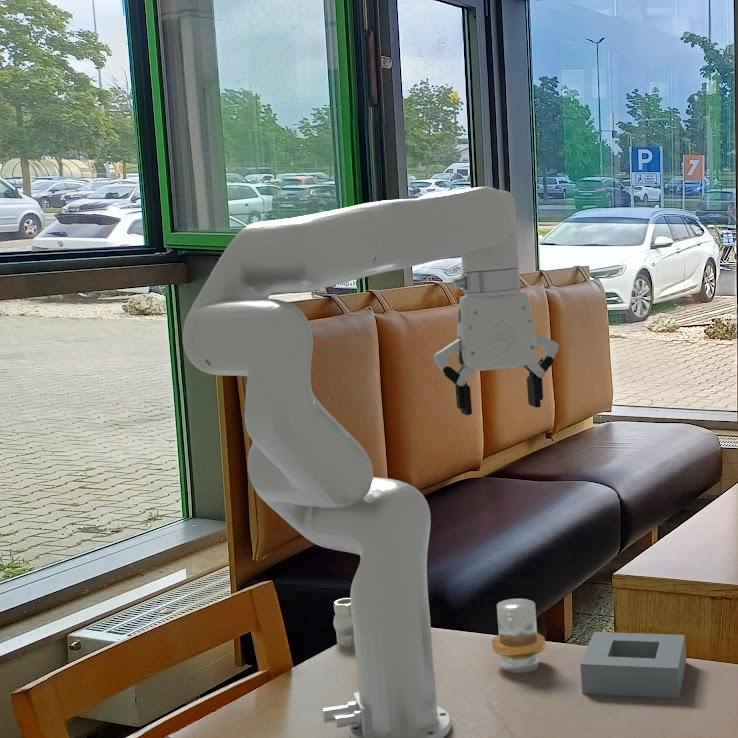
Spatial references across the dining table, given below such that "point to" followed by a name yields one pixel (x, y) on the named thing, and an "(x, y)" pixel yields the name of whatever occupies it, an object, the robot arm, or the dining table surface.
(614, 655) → the housing
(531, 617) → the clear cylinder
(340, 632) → the valve
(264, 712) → the dining table surface
